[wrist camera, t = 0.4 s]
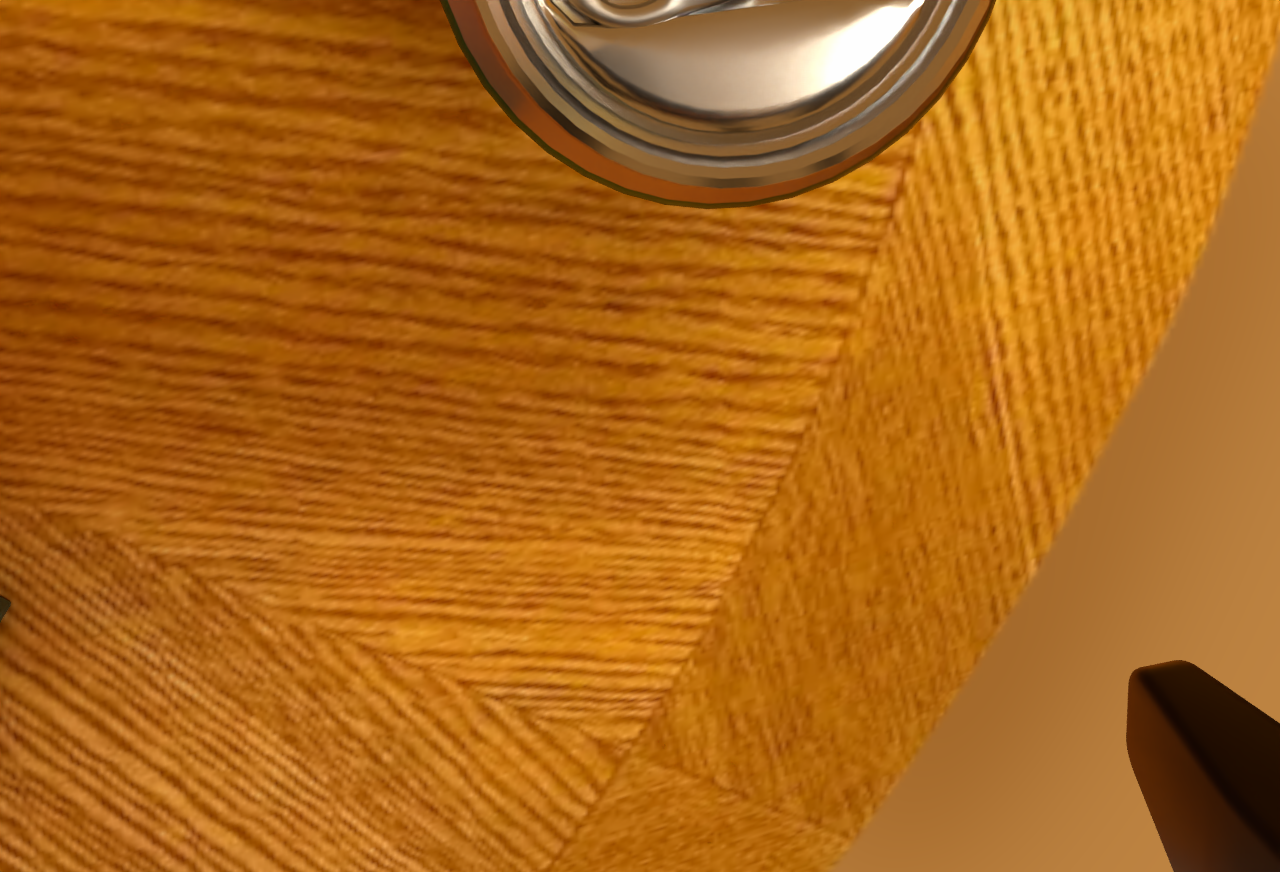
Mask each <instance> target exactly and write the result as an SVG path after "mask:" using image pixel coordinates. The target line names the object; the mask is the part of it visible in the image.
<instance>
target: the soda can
mask: <svg viewBox="0 0 1280 872" xmlns="http://www.w3.org/2000/svg"><path fill="white" fill-rule="evenodd" d="M440 2H441V4H442V6H443V9H444V11H445V14H446V16H447V18H448V21H449V23H450V26H451V28H452V30H453V33H454V35H455V38H456V40H457V42H458V45H459V47H460V48H461V50H462V52H463V53H464V55H465V57H466V58H467V60H468V62H469V63H470V65H471V67H472V68H473V70H474V72H475V73H476V75H477V77H478V78H479V80H480V82H481V83H482V85H483V87H484V88H485V89H486V90H487V91H488V93H489V94H490V95H491V96H492V97H493V99H494V100H495V101H496V102H497V103H498V105H499V106H500V107H501V108H502V109H503V111H504V112H505V113H506V114H507V116H508V117H509V118H510V119H511V120H512V122H513V123H515V124H516V125H517V126H518V127H519V128H520V129H521V130H522V131H524V132H525V133H526V134H527V135H528V136H529V137H530V138H531V139H532V140H534V141H535V142H536V143H537V144H538V145H539V146H540V147H541V148H543V149H544V150H545V151H546V152H547V153H549V154H550V155H552V156H553V157H555V158H557V159H558V160H560V161H561V162H563V163H564V164H566V165H567V166H569V167H570V168H572V169H574V170H575V171H577V172H578V173H580V174H581V175H583V176H585V177H587V178H589V179H592V180H594V181H596V182H598V183H601V184H603V185H605V186H607V187H610V188H612V189H614V190H616V191H619V192H621V193H623V194H627V195H630V196H634V197H638V198H642V199H645V200H649V201H653V202H657V203H660V204H664V205H673V206H682V207H692V208H702V209H718V208H736V207H751V206H756V205H760V204H765V203H770V202H775V201H779V200H784V199H789V198H793V197H795V196H798V195H801V194H803V193H806V192H809V191H811V190H814V189H816V188H819V187H822V186H824V185H827V184H830V183H832V182H834V181H836V180H838V179H840V178H841V177H843V176H845V175H847V174H848V173H850V172H852V171H854V170H856V169H857V168H859V167H861V166H863V165H864V164H866V163H868V162H870V161H872V160H873V159H874V158H875V157H877V156H878V155H879V154H881V153H882V152H883V151H884V150H886V149H887V148H888V147H890V146H891V145H892V144H893V143H895V142H896V141H897V140H899V139H900V138H901V137H902V136H904V135H905V134H906V133H908V131H909V130H910V129H911V128H912V127H913V126H914V125H915V124H916V123H917V122H918V121H919V120H920V119H921V118H922V117H923V116H924V115H925V114H926V113H927V112H928V111H929V110H930V109H931V108H932V107H933V105H934V104H935V103H936V102H937V101H938V100H939V99H940V98H941V96H942V95H943V94H944V92H945V91H946V90H947V88H948V87H949V85H950V84H951V83H952V81H953V80H954V78H955V77H956V76H957V74H958V73H959V71H960V70H961V69H962V67H963V66H964V64H965V63H966V62H967V60H968V58H969V56H970V54H971V53H972V51H973V49H974V47H975V45H976V43H977V41H978V39H979V37H980V35H981V34H982V32H983V30H984V28H985V26H986V24H987V22H988V20H989V18H990V16H991V13H992V10H993V7H994V5H995V2H996V0H440Z"/></svg>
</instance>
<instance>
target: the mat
mask: <svg viewBox="0 0 1280 872" xmlns="http://www.w3.org/2000/svg"><path fill="white" fill-rule="evenodd" d="M10 605H11V602H10V601H8V600H6V599H4V598H2V597H1V596H0V622H1V620H2V619H3V617H4V615H5V614H6V612H7V610H8V609H9V607H10Z"/></svg>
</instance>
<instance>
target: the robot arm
mask: <svg viewBox="0 0 1280 872" xmlns="http://www.w3.org/2000/svg"><path fill="white" fill-rule="evenodd" d="M1126 742H1127V750H1128V754H1129V758H1130V762H1131V765H1132V768H1133V771H1134V773H1135V776H1136V779H1137V781H1138V784H1139V786H1140V788H1141V791H1142V794H1143V796H1144V799H1145V801H1146V804H1147V806H1148V808H1149V811H1150V813H1151V816H1152V818H1153V821H1154V823H1155V826H1156V828H1157V831H1158V833H1159V836H1160V838H1161V841H1162V843H1163V846H1164V848H1165V851H1166V853H1167V856H1168V858H1169V861H1170V863H1171V866H1172V868H1173V871H1174V872H1280V723H1278V722H1277V721H1275V720H1274V719H1273V718H1271V717H1270V716H1268V715H1267V714H1265V713H1264V712H1262V711H1261V710H1260V709H1258V708H1257V707H1255V706H1254V705H1252V704H1251V703H1249V702H1248V701H1246V700H1245V699H1244V698H1242V697H1240V696H1239V695H1238V694H1236V693H1235V692H1233V691H1232V690H1231V689H1229V688H1228V687H1226V686H1225V685H1223V684H1222V683H1220V682H1219V681H1218V680H1216V679H1215V678H1213V677H1211V676H1210V675H1209V674H1207V673H1206V672H1204V671H1203V670H1202V669H1200V668H1198V667H1197V666H1196V665H1194V664H1192V663H1190V662H1186V661H1182V660H1176V661H1170V662H1165V663H1160V664H1155V665H1150V666H1146V667H1140V668H1138V669H1136V670H1134V671H1133V673H1132V674H1131V676H1130V679H1129V686H1128V709H1127V733H1126Z"/></svg>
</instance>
